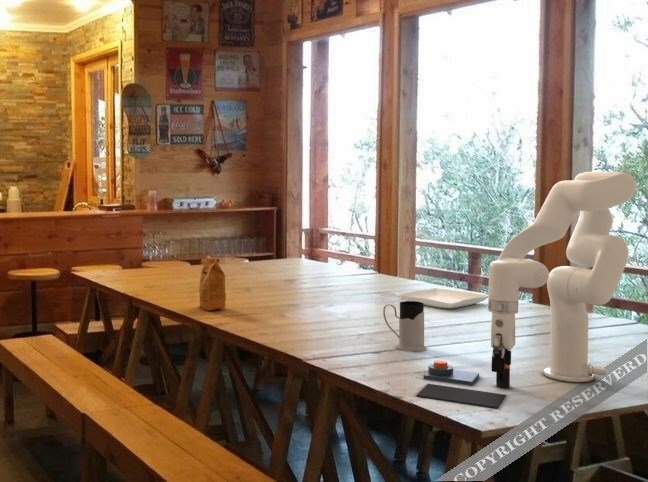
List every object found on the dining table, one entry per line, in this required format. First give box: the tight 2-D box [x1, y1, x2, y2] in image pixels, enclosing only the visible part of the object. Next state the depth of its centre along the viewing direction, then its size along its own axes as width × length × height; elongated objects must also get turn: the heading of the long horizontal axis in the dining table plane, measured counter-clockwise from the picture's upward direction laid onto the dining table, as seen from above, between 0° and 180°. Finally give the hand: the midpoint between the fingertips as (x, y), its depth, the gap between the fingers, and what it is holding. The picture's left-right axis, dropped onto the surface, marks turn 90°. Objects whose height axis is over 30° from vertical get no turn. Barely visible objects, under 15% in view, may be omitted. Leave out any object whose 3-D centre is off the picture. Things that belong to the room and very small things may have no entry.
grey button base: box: [423, 363, 480, 387], centre depth 226 cm, size 13×10×3 cm
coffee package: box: [198, 255, 227, 312], centre depth 334 cm, size 10×12×22 cm
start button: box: [433, 359, 448, 369], centre depth 228 cm, size 4×4×2 cm
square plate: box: [396, 287, 488, 309], centre depth 336 cm, size 27×27×4 cm
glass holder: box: [382, 300, 427, 352], centre depth 263 cm, size 9×14×15 cm, turn 48°
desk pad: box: [416, 383, 507, 410], centre depth 210 cm, size 20×12×1 cm, turn 56°
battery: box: [495, 364, 511, 390], centre depth 217 cm, size 3×3×6 cm
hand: (501, 368), depth 216 cm, fingers open, 9 cm apart
